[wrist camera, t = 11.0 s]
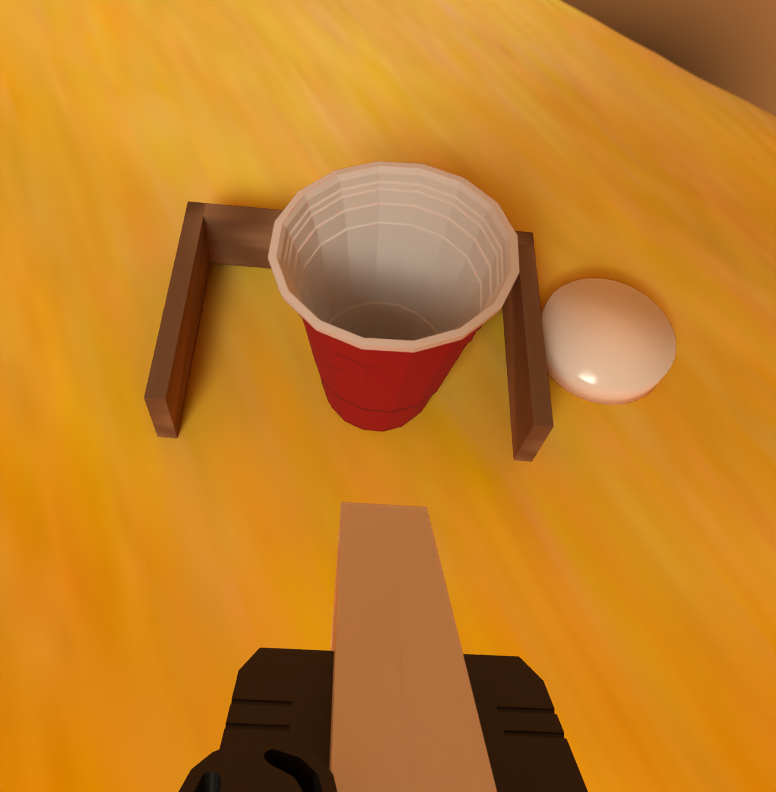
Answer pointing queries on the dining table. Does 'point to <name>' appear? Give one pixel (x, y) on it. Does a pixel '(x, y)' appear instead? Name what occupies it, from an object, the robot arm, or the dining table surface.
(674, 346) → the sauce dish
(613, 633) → the dining table surface
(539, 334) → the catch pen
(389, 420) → the plastic cup
